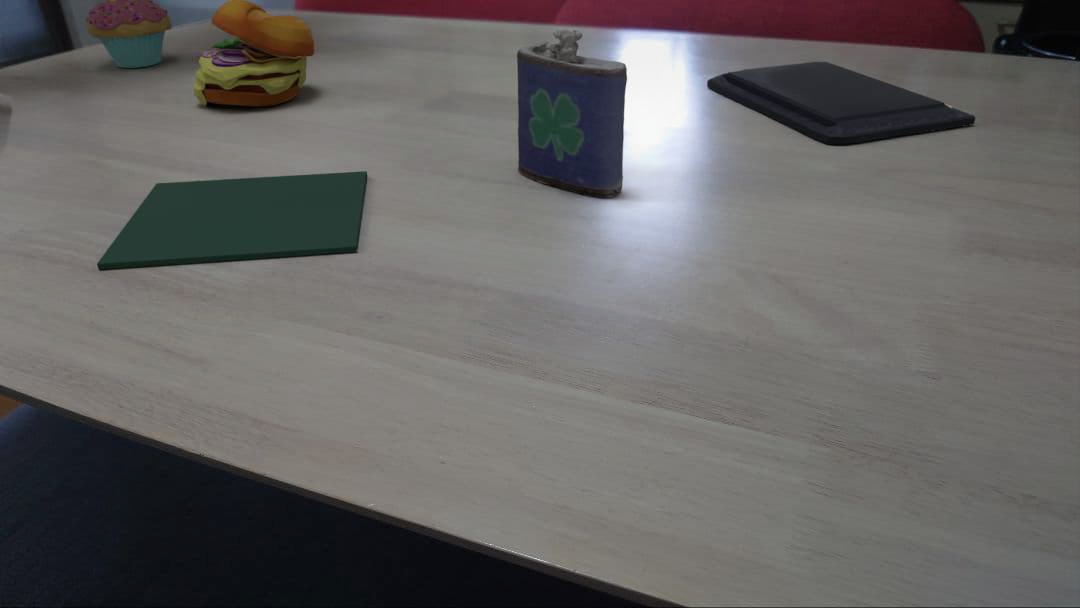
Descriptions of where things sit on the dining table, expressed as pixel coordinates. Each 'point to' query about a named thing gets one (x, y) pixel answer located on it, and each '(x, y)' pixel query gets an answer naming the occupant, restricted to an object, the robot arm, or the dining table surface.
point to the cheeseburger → (254, 58)
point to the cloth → (242, 220)
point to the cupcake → (130, 31)
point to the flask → (571, 117)
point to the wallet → (836, 102)
